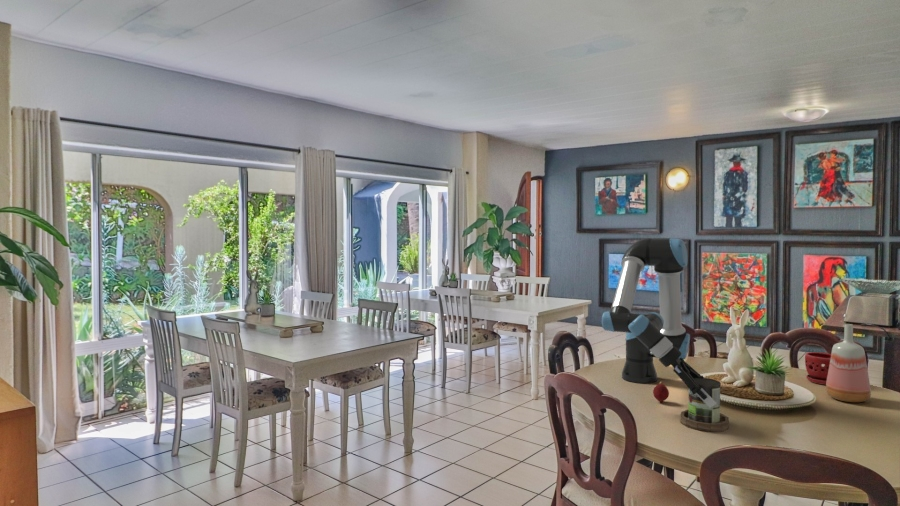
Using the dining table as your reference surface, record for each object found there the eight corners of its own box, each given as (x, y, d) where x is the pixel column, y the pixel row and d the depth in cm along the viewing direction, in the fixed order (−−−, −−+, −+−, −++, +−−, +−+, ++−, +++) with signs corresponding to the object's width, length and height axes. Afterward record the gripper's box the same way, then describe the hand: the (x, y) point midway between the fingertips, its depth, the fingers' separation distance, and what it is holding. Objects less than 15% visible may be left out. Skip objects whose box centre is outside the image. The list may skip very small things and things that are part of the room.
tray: (682, 414, 206) (682, 407, 206) (728, 419, 199) (728, 412, 199) (679, 427, 192) (679, 420, 192) (728, 434, 186) (728, 426, 185)
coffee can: (697, 426, 190) (697, 385, 190) (682, 416, 200) (682, 378, 200) (726, 425, 191) (726, 384, 190) (710, 415, 201) (710, 377, 201)
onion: (670, 404, 216) (670, 384, 216) (654, 404, 217) (654, 383, 217) (667, 400, 222) (667, 380, 222) (652, 399, 223) (652, 379, 223)
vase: (829, 402, 216) (830, 326, 215) (822, 392, 229) (823, 320, 228) (874, 407, 210) (876, 329, 208) (865, 396, 223) (867, 322, 222)
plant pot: (842, 387, 234) (843, 359, 234) (805, 383, 241) (805, 356, 240) (839, 380, 246) (839, 353, 245) (803, 376, 252) (804, 350, 252)
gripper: (661, 352, 212) (705, 397, 206) (654, 366, 191) (704, 417, 185) (676, 339, 209) (722, 385, 203) (671, 352, 188) (722, 403, 182)
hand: (713, 400), depth 194 cm, fingers open, 11 cm apart
